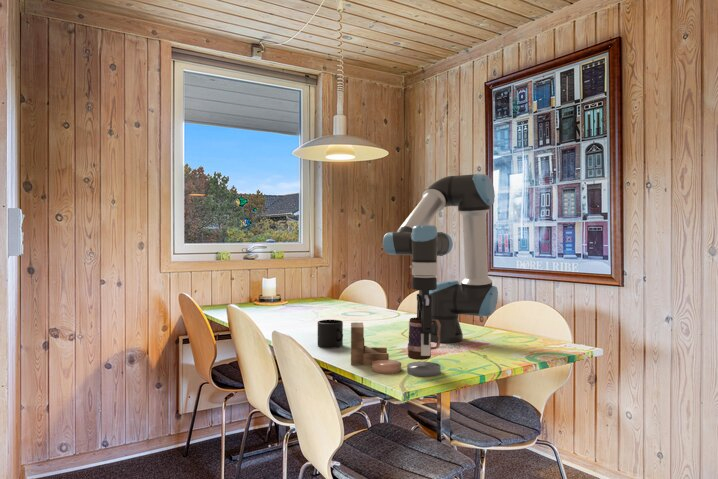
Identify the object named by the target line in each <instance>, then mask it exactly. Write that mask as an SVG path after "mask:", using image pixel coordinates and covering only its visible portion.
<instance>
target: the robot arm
mask: <svg viewBox="0 0 718 479" xmlns="http://www.w3.org/2000/svg"><path fill="white" fill-rule="evenodd" d="M424 190H425V191H424V192H423V193H422V195H421V200H420V201H419V202H418V204H417V205H416V206H415V208H414V209H413V210H412V211H411V212H410V214H409V215H408V216H407V217H406V219H405V220H404V221H403V223H401V225H400V227H399V228H398V229H397V230H396V231H390V232H389V231H388V232H387V233H385V234H384V236H383V239H382V246H383V251H384V252H385V254H387V255H395V256H411V265H409V268H410V269H411V275H412V277H411V289H412V290H415V291H418V293H417V294H416V301H417V302H416V318H421V323H422V331H420V332H419V333H420V334H421V356H430V347H432V344H431V342H433V343H437V328H438V327H437V324H436V323H434V322H433V324H432V320H433V319H437V320H439V322H440V325H441V330H440V343H444V344H445V343H447V344H449V343H451V344H452V343H459V342H462V341H463V339H464V334H463V330H462V327H461V324H460V321H459V315H466V316H476V317H490V316H492V315H493V314H494V313H495V311H496V307H497V304H498V299H499V298H498V297H499V291H498V287H497V286H495V285H493V280H492V279H491V278H490V277H489V271H488V270H489V267H488V243H487V242H488V241H487V216H486V215H487V214H488V213H489V211H490V208H491V207H490V206H492V205H494V203H495V196H496V193H495V188H494V185H493V181H492V178H490V176H489V175H487V174H484V173H483V174H481V173H480V174H479V173H478V174H477V173H474V174H464V175H463V174H462V175H448V176H445V177H443V178H440V179H438V180H436V181H435V182H433V183H432V184H431V185H430V186H428V187H427V188H426V189H424ZM447 207H457V210H458V213H460V215H462V233H463V234H462V236H463V239H462V240H463V255H464V256H463V258H464V259H463V260H464V263H463V264H464V278H463V279H462V280H461V283H460V282H459V281H458V280H446V281H438V278H437V277H436V276H437V275H438V257H443V256H445V255H448V254H449V253H450V252H451V251H452V249H453V239H452V237H451V236H450V235H449V234H448V233H445V232H442V231H439V232H438V227H437V226H436V225H430V224H431V223H432V221H433V219H434V218H435V217H436V215H437V214H438V213H439V212H441V211H442V210H444V208H447Z"/></svg>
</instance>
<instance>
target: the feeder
mask: <svg viewBox="0 0 718 479" xmlns="http://www.w3.org/2000/svg"><path fill="white" fill-rule="evenodd" d="M364 327H365V326H364V322H350V366H372V362H373V361H376V360H390V356H389V354H390V353H388V352H387V351H388V348H387V347H369V346H367V345H365V337H364V331H365V330H364V329H365V328H364Z"/></svg>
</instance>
